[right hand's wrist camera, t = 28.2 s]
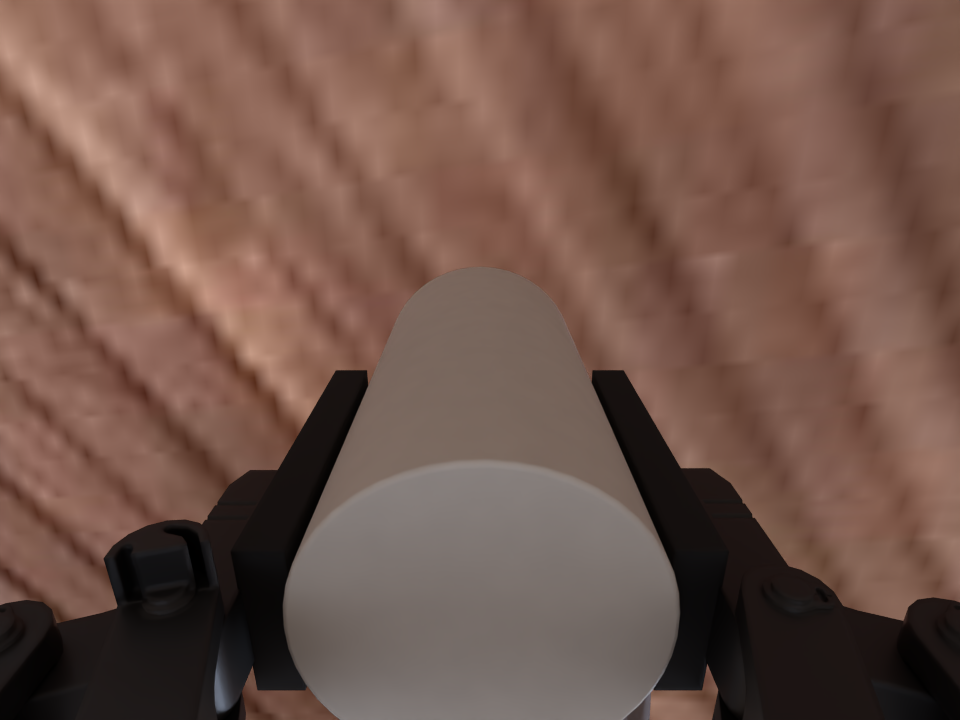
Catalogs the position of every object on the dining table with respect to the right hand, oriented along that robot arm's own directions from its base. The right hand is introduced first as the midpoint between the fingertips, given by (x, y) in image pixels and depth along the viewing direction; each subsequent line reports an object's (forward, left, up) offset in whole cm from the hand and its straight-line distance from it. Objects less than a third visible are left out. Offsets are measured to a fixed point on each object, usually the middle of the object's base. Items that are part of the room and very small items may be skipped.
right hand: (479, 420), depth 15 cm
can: (0, 0, -4) cm, 4 cm away
